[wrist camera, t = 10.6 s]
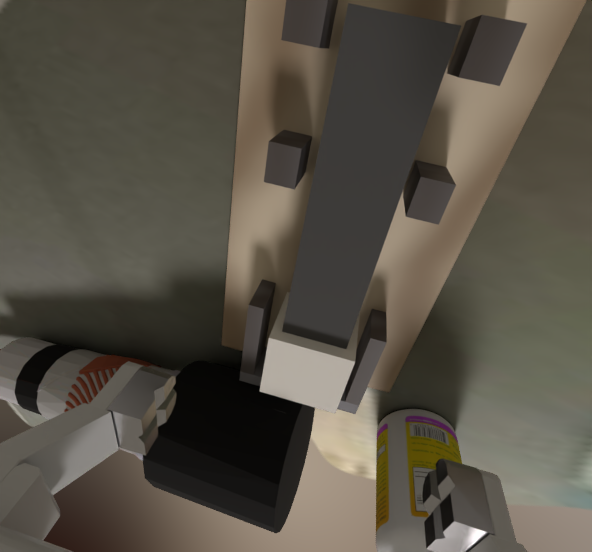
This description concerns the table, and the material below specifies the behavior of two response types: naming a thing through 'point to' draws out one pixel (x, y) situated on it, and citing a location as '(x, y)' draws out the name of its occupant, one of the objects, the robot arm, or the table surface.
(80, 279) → the table surface
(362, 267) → the bar
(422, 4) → the clip board
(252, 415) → the cable
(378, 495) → the supplement bottle
